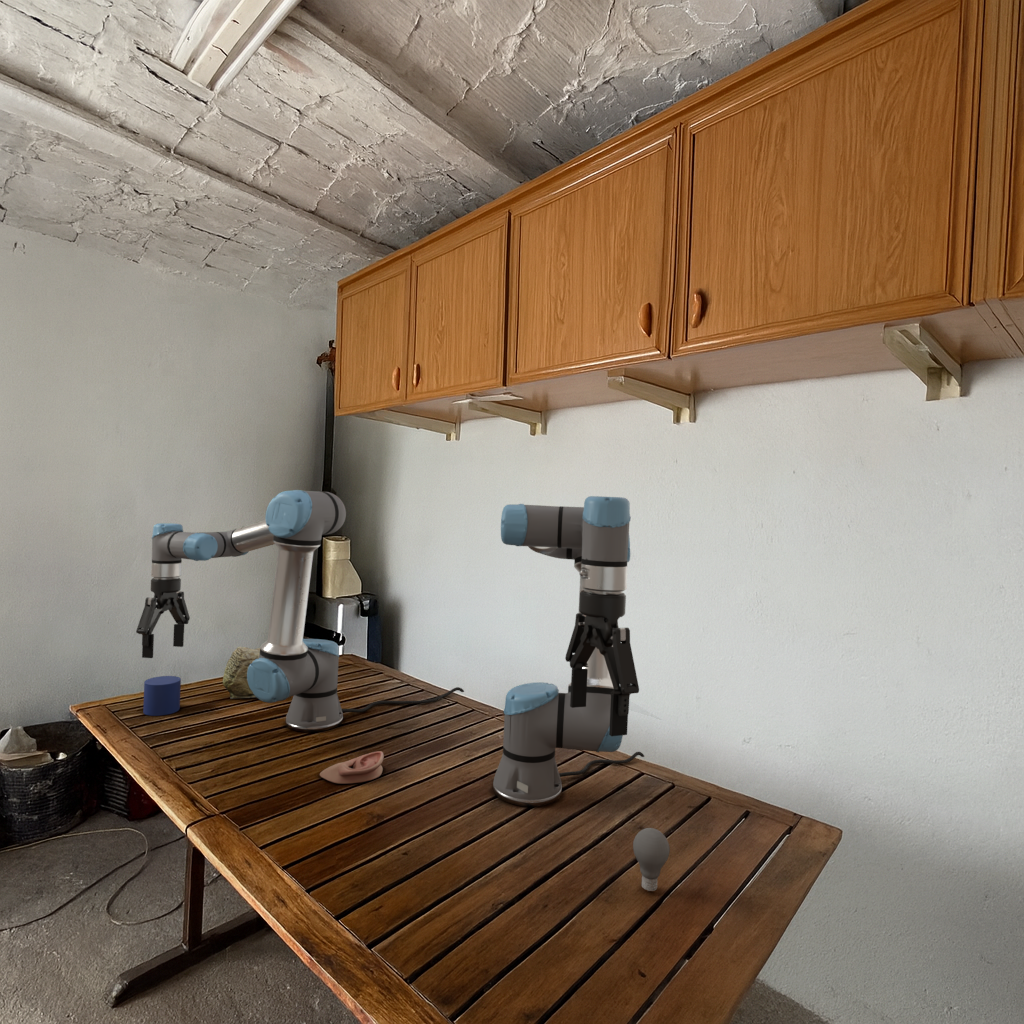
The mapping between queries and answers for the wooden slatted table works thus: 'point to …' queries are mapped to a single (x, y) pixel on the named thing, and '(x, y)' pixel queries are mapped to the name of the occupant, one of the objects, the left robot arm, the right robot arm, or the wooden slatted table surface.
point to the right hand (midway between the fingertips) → (596, 720)
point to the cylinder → (161, 695)
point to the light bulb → (650, 855)
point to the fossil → (239, 672)
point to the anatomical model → (355, 769)
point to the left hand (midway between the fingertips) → (163, 651)
